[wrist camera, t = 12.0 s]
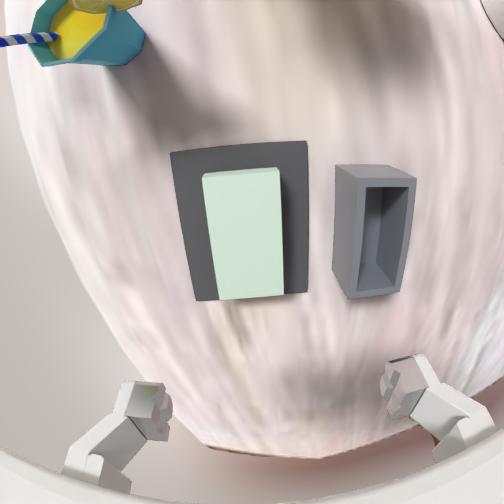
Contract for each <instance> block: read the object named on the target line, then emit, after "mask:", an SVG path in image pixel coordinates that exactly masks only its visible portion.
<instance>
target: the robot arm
mask: <svg viewBox="0 0 504 504" xmlns="http://www.w3.org/2000/svg"><path fill="white" fill-rule="evenodd" d="M481 2H482V4H483V6H484V9H485V11H486V13H487V15H488V16H489V18H490V20H491V22H492V23H493V25H494V27H495V28H496V30H497V31H498V33H499V34H500V35H501V37H502V38H503V39H504V0H481ZM384 369H385V371H386V372H385V373H384V374H383V375H382V376H381V379H380V391H381V394H382V397H383V398H384V399H385V400H387V401H388V403H387V406H386V408H387V410H388V413H389V416H390V418H391V420H393V419H397V418H401V417H405V416H408V415H410V416H411V417H412V418H413V419H414V420H416V421H417V422H418V423H419V424H420V425H422V426H423V427H424V428H425V429H426V430H428V431H429V432H430V433H431V434H432V435H434V436H435V437H436V438H437V439H438V440H440V442H439V443H438V445H437V446H436V447H435V448H434V449H433V450H432V455H433V458H434V461H435V464H434V465H432V466H429V467H427V468H424V469H422V470H419V471H417V472H414V473H411V474H409V475H406V476H403V477H401V478H397V479H394V480H391V481H388V482H385V483H382V484H378V485H374V486H371V487H367V488H363V489H360V490H355V491H351V492H347V493H342V494H337V495H332V496H327V497H321V498H315V499H308V500H301V501H294V502H293V501H292V502H283V503H272V504H504V428H502V429H501V430H499V431H498V430H497V428H496V427H495V424H494V422H493V421H492V419H491V417H490V415H489V413H488V411H487V409H486V407H485V406H483V405H481V404H479V403H478V402H476V401H474V400H473V399H471V398H469V397H468V396H466V395H464V394H462V393H461V392H459V391H457V390H456V389H454V388H452V387H451V386H449V385H447V384H446V383H444V382H443V383H440V381H439V379H438V377H437V376H436V374H435V372H434V370H433V368H432V367H431V365H430V363H429V361H428V360H427V358H426V356H425V355H424V354H423V353H420V354H416V355H413V356H407V357H404V358H400V359H396V360H392V361H388V362H387V363H386V365H385V367H384ZM165 390H166V388H165V386H164V384H163V383H154V382H139V381H127V380H125V381H124V382H123V383H122V385H121V388H120V391H119V394H118V397H117V400H116V403H115V406H114V410H113V412H112V414H108V415H107V416H106V417H105V418H103V419H102V420H101V421H100V422H99V423H98V424H96V425H95V426H94V427H93V428H92V429H91V430H89V431H88V432H87V433H86V434H85V435H83V436H82V437H81V438H80V439H79V440H77V441H76V442H75V443H74V444H73V445H71V447H70V448H69V451H68V454H67V458H66V461H65V464H64V467H63V470H62V474H60V473H57V472H55V471H52V470H50V469H47V468H45V467H42V466H40V465H38V464H35V463H33V462H31V461H29V460H27V459H25V458H23V457H20V456H18V455H16V454H14V453H13V452H11V451H8V450H7V449H5V448H2V447H0V504H199V503H187V502H177V501H169V500H162V499H155V498H149V497H143V496H138V495H132V494H130V489H131V483H132V481H131V480H130V478H128V477H127V476H126V475H124V474H123V473H122V472H121V471H122V470H123V469H124V467H125V466H126V465H127V464H128V463H129V462H130V461H131V459H132V458H133V457H134V456H135V455H136V454H137V453H138V451H139V450H140V449H141V448H142V447H143V445H144V444H145V443H146V442H147V440H154V441H168V436H169V430H170V426H169V425H168V423H167V422H168V421H169V419H170V418H172V412H173V404H172V400H171V397H170V395H168V394H167V393H165Z"/></svg>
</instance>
